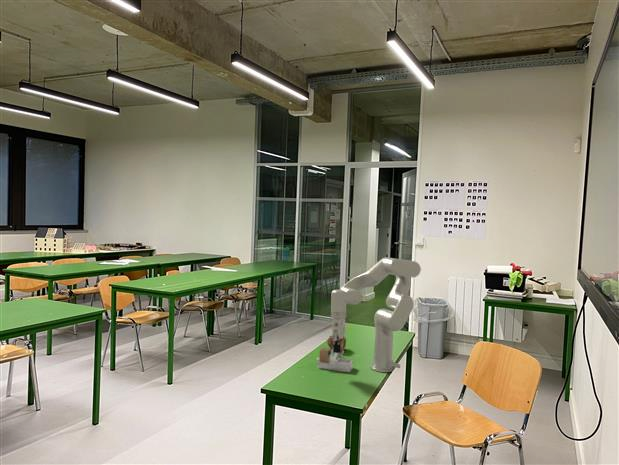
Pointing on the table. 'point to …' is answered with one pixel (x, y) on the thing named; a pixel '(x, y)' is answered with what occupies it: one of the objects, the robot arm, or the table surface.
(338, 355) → the metal bracket
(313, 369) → the table surface
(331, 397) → the table surface
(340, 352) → the wood grain cube
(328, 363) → the white desk organizer
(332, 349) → the decorative rock
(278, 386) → the table surface
